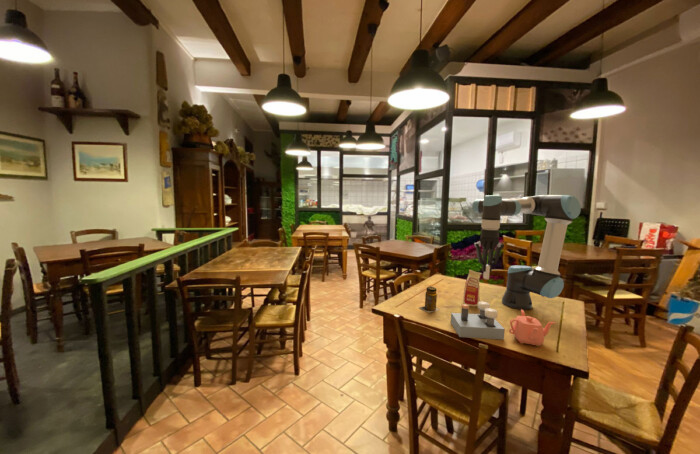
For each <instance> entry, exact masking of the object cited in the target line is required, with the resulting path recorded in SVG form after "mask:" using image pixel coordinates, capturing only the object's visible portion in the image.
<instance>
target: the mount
mask: <svg viewBox="0 0 700 454" xmlns="http://www.w3.org/2000/svg"><path fill="white" fill-rule="evenodd" d="M479 316H480V313H468V321H462V320H461V312H450V323H451V325H452V328H453V329H454V330H455V332H456V334H457V335H458V337H459V338H470V339H484V338H485V339H488V340H502V341H503V340H505V330H506V329H505V328H504V327H503V326H502V325H501V324H500V323H499V321H497V320H496V318H494V327H487V326H486V322H487V317H486V319H480V318H479ZM485 339H484V340H485Z"/></svg>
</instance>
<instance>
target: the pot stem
mask: <svg viewBox="0 0 700 454" xmlns="http://www.w3.org/2000/svg"><path fill="white" fill-rule="evenodd" d="M460 308H461V310H460V311H461V312H460V313H461V320H462V321H468V314H469V310H470V306H469V305H467V304H463V303H461V306H460Z"/></svg>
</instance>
